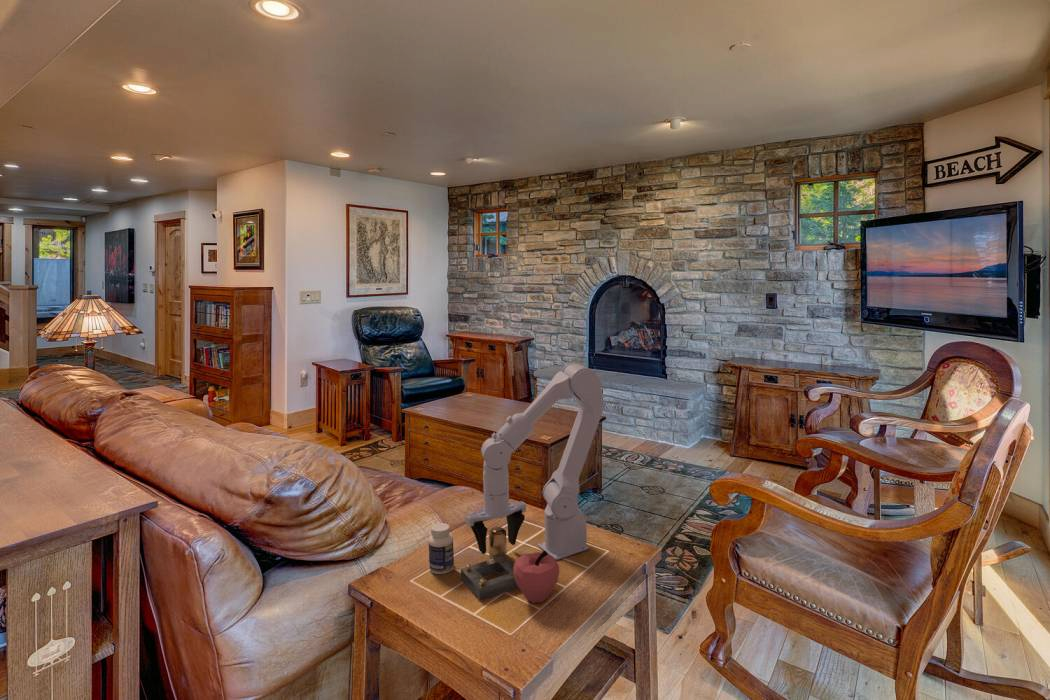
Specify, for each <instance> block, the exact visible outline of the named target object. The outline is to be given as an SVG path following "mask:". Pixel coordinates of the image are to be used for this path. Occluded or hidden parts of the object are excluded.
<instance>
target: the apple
mask: <svg viewBox="0 0 1050 700" xmlns="http://www.w3.org/2000/svg"><path fill="white" fill-rule="evenodd" d="M514 564H515V565H514V567H513V574H514V578H515V581H516V583H517V585H518V589H519V590H520V591H521V593H522V594H523V595H524V597H525V599H526V600H528V601H529V602H531V603H533V604H535V603H543V602H544V601H545V599H547V598H548V597H549V596H550V593H551V592H552V590H553V589H554V588H555V585H556V584H557V583H558V581H559V580H558V579H559V574H560V566H559V564H558V563H557V560H555V559H554V558H553V556H550V555H549V554H548V553H547V552H546V551H545V550H544V551H542V552H539V551H537V552H532V553H527V552H525V553H523V554H522V555H521V556H520V557H517V558H516V559H515V562H514Z"/></svg>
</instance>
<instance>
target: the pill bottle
mask: <svg viewBox="0 0 1050 700" xmlns="http://www.w3.org/2000/svg"><path fill="white" fill-rule="evenodd" d="M430 529H431V530H430V534H431V535H429V538H428V562H429V563H428V564H429V570H430V572H431V573H432V574H435V575H445V574H448V573H450V572H452V571H453V569H454V567H455V558H454V557H455V554H454V552H455V551H454V538H453V537H454V536H453V535H452V534H451V533H450V532H451V531H450V530H451V529H450V525H449V524H447V523H445V522H444V523H443V522H442V523H435V524H433V525H431V527H430Z"/></svg>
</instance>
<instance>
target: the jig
mask: <svg viewBox="0 0 1050 700" xmlns="http://www.w3.org/2000/svg"><path fill="white" fill-rule="evenodd" d="M514 565H515V562H513V561H511V560H510V559H509V557H506V556H505V555H504V556H500V557H497V558H494V559H489V560H484V561H481V562H479V563H476V564H470V563H467V564H466V565H465V567H462V568H460V580H461V581H462V583H463V584H464V585H465V586H466V587H467V588H468V589H469V590H470V592H471V593H472V594H473V595H474V596H475V597H476V599H477V600H478V601H483V600H486V599H489V598H492V597H494V596H498V595H500V594H503V593H506V592H508V591H511V590H512V591H513V590H514V589H519V587H518V585H517V583H516V581H515V578H514V574H513V567H514ZM495 574H498V575H500V576H498V577H496V578H492V579H489V580H486V579H485V578H486V577H487V578H488V577H489V576H494V575H495Z"/></svg>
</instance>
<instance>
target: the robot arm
mask: <svg viewBox="0 0 1050 700" xmlns="http://www.w3.org/2000/svg"><path fill="white" fill-rule="evenodd" d="M602 385H603V382H602V380H601V379H600V378H599V376H598V375H597V373H596V372H595V371H594V370H593V369H590V368H588V367H586V366H584V365H583V364H582V363H580V362H577V361H573V362H569V363H567V364H566V365H565V366H563V368H562V370H559V372H556V374H555V375H554V376H553V378H551V380H550V382H549V383H548V384H547V385H546V386H545V387H544V389H543V390H542V391H541V392H540V393H539V394H538V395H537V397H535V399H534V400H533V401H532V402H531V403H530V404H529V406H528V407H527V408H526V409H525V410H524V411H523V412H520V413H514V414H513V415H508V417H506V418H505V420H506V423H504V425H503V426H501V428H500V429H499V430H498V431H497V432H496V433H495V432H493V433H492V434H491V437H489V438H487V439H486V440H485V441H484V442H483V443H482V445H481V448H480V454H481V456H482V457H483V459H484V460H483V465H482V466H483V467H482V469H483V472H482V478H483V481H482V482H483V508H481V509H478V510H476V511H474V512H472V513H469V514H466V515H465V524H466V525H467V526H468V527H469V528H471V530H472V532H473V534H474V537H475V539H476V540H475V541H476V543H477V546H478V551H479V552H480V553H481V554H482V555H485V554H486V553H487V536H488V535H487V534H488V531H489V530H488V528H487V527H486V526H485V523H484V522H487V521H491V520H495V519H503V518H505V517H506V522H507V540H508V543H509V544H511V545H512V546H514V545H516V542H517V538H518V534H519V531H520V529H521V526H522V524H523V523H524V521H525V514H524V513H526V512H527V503H525V502H524V501H522V500H521V501H517V502H516V501H514V502H513V501H512V502H510V493H509V492H510V491H509V489H510V488H509V486H510V485H509V470H508V467H509V463H511V458H512V453H514V452H515V451H516V450H517V449H518V448H519V447H520V446H521V445H522V444H523V443H524V442H525V441H526V439H528V438H529V436H530V435H531V434H533V432H534V424H535V423H536V421H538V420H539V419H540V418H541V417H542V416H544V414H545V413H546V412H548V410H550V409H551V408H552V407H553V406H554V405H555V404H556V403H557V402H558V401H560V400H567V399H573V398H575V400H576V401H577V403H578V405H579V409H578V411H577V414H576V417H575V420H574V423H573V426H572V429H571V431H570V434H569V437H568V439H567V442H566V445H565V448H564V450H563V454H562V456H561V459H560V462H559V464H558V468H557V469H556V470H554V471H553V472H552V474H551V477H550V479H549V480H548V481H547V482H546V483H545V485H544V486H543V488H542V497H543V499H544V501H546V507H545V508H544V541H543V542H541V543H540V542H539V543H538V544H537V547H538V548H540V549H541V550H543V551H544V550H545V551H546V552H547V553H548V555H549V556H553V558H554V559H555V561H557V560H561V559H563V558H567V557H569V556H570V557H571V556H573V555H575V554H578V553H582V552H584V551H587V550H589V546H588V545H587V544H588V543H587V539H588V538H587V534H588V533H587V531H588V530H587V518H586V515H585V514H584V512H583V510H581V509H580V508H579V502H578V501H579V500H578V498H579V494H580V480H579V479H580V476H581V474H582V470H583V468H584V466H585V463H586V460H587V456H588V453H589V451H590V448H591V445H592V442H593V440H594V437H595V435H596V432H597V429H598V426H599V423H600V420H601V418H602V415H603V412H604V410H605V402H604V396H603V391H602ZM543 551H542V552H543Z"/></svg>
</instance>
